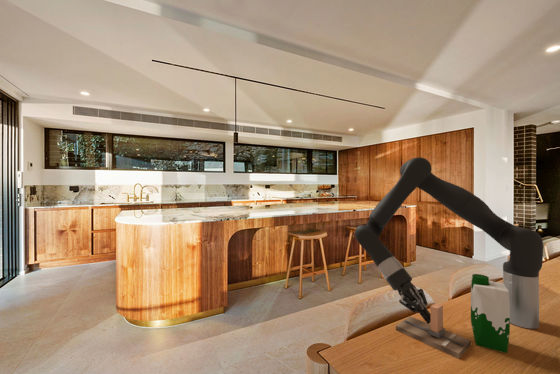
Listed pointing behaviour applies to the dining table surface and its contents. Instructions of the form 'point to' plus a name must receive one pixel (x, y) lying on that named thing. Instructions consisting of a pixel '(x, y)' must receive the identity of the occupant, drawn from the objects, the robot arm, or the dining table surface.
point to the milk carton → (490, 313)
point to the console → (445, 343)
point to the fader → (436, 321)
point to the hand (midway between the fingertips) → (431, 322)
